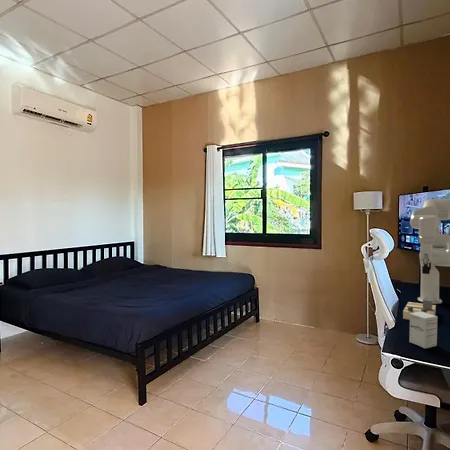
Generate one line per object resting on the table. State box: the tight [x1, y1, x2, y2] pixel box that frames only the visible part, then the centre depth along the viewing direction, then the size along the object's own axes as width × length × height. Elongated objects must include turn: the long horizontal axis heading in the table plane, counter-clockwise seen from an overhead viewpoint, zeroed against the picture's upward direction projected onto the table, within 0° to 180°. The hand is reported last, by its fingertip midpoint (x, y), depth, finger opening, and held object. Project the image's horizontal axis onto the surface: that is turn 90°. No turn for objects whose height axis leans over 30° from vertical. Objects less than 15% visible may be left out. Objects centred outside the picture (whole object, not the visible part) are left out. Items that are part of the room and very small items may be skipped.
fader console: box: [402, 301, 437, 321], centre depth 174 cm, size 20×13×6 cm, turn 144°
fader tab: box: [422, 299, 433, 310], centre depth 172 cm, size 3×4×4 cm
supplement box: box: [408, 311, 438, 349], centre depth 138 cm, size 7×7×13 cm
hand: (426, 271), depth 176 cm, fingers open, 9 cm apart
